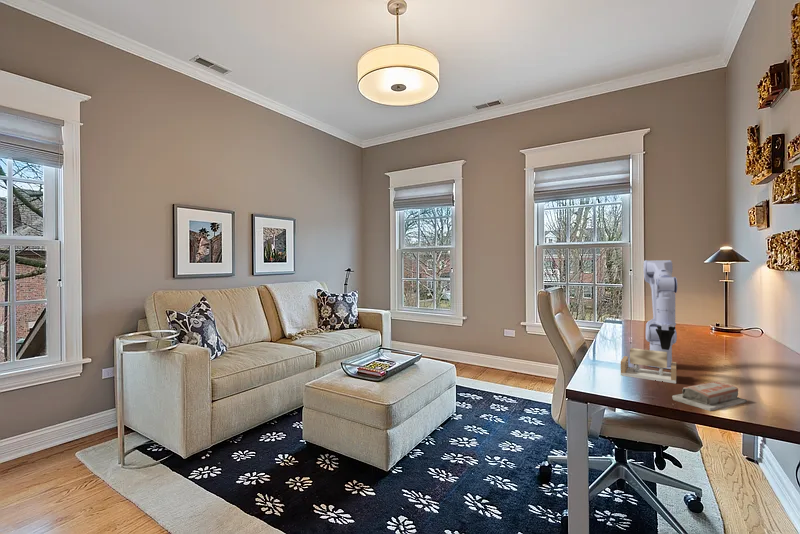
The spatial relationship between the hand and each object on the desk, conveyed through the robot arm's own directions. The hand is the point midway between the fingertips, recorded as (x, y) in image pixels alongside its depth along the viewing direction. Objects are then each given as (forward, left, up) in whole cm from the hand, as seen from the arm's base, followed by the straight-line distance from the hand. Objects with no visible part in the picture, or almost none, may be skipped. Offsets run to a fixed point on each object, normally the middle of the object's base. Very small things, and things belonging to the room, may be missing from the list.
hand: (665, 347), depth 138 cm
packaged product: (+25, +11, -11) cm, 29 cm away
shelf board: (+5, -5, -6) cm, 9 cm away
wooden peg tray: (+5, -5, -10) cm, 12 cm away
